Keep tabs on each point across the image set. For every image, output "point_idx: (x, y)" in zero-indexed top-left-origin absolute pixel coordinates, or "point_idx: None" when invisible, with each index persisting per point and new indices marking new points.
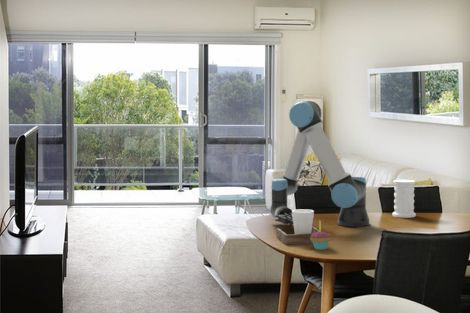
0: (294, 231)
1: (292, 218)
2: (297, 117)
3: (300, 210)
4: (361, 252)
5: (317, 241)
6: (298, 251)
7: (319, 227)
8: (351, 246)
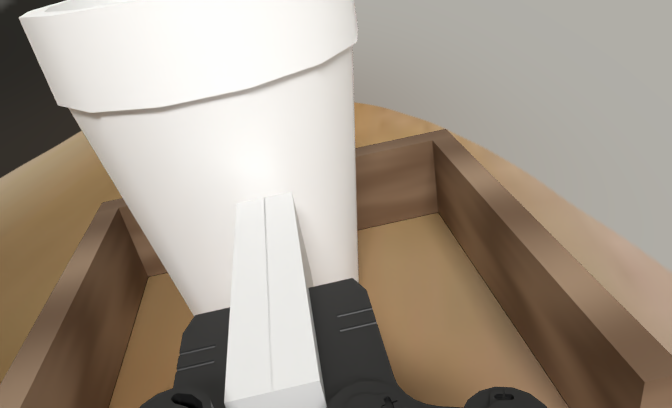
0: (356, 228)
1: (320, 376)
2: None
3: (176, 12)
4: (82, 152)
5: None
6: (366, 123)
7: None
8: (34, 215)
